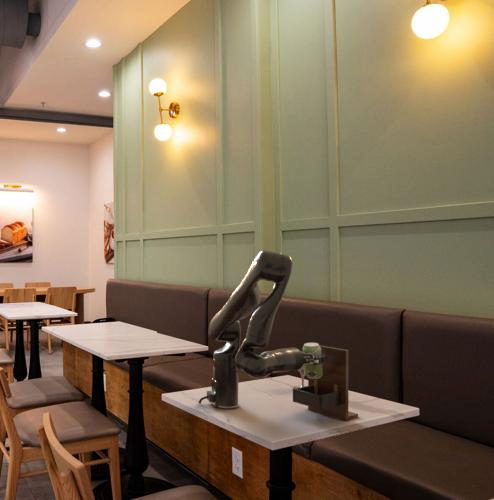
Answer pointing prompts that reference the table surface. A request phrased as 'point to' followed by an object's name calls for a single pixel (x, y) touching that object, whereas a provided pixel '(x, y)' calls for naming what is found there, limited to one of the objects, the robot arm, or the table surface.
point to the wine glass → (301, 376)
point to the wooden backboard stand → (328, 387)
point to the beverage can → (311, 369)
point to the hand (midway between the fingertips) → (317, 355)
